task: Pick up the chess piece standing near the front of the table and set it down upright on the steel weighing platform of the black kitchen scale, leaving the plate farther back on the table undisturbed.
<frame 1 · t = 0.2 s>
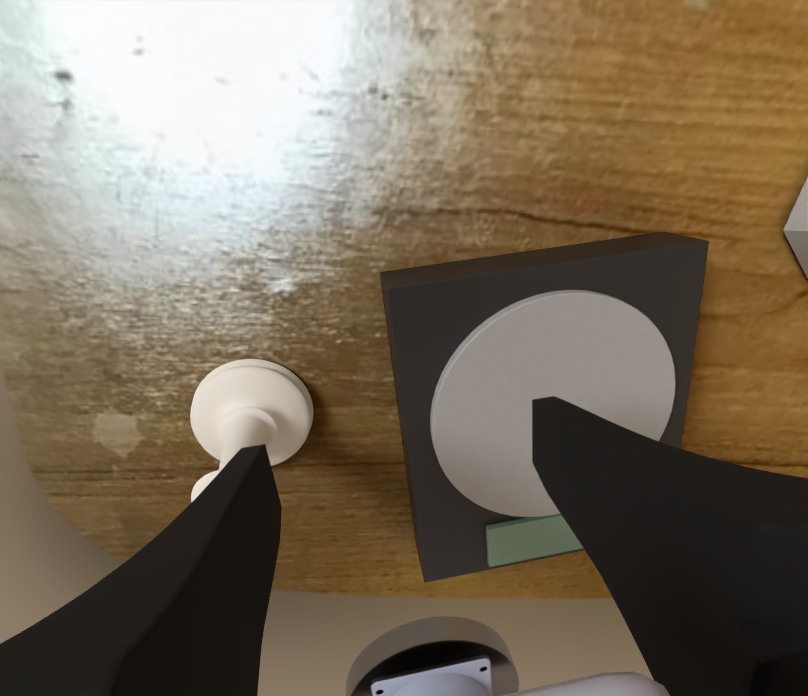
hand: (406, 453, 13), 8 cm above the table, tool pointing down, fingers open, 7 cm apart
scale: (528, 402, 22), on the table
chess piece: (255, 409, 20), on the table
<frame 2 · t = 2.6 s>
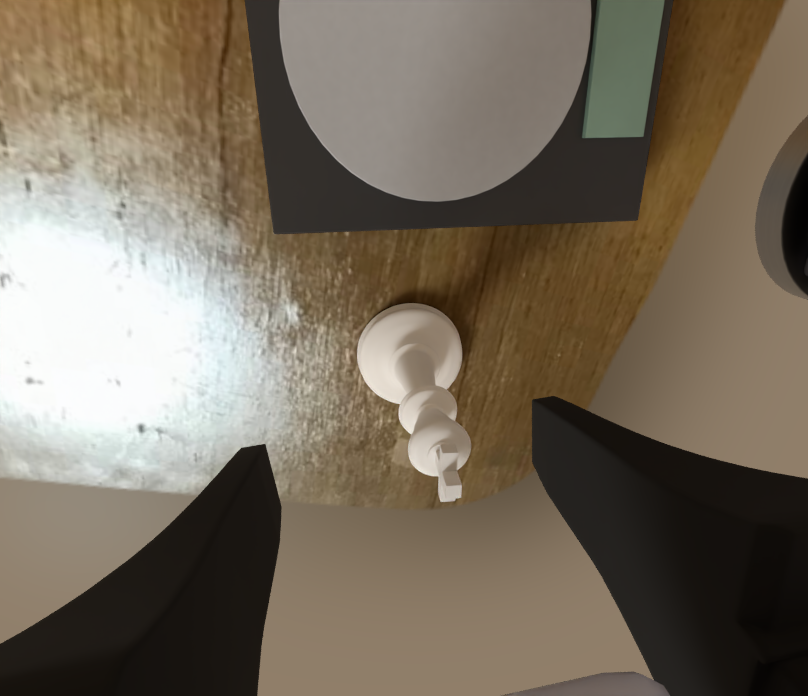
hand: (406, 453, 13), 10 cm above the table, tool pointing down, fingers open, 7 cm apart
scale: (451, 56, 18), on the table
chess piece: (409, 351, 22), on the table
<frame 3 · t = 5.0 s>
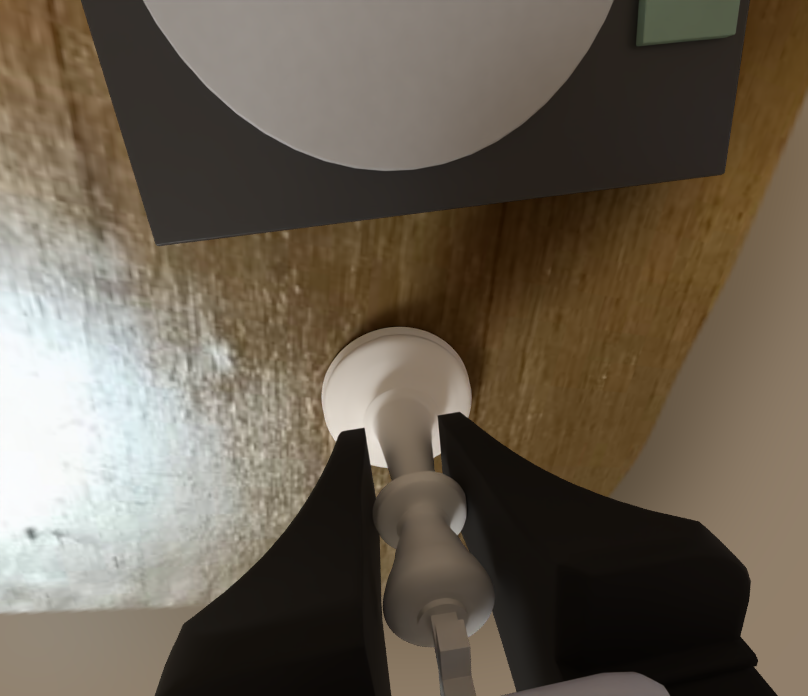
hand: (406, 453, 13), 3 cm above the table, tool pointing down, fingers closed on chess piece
chess piece: (396, 393, 16), on the table, touching gripper
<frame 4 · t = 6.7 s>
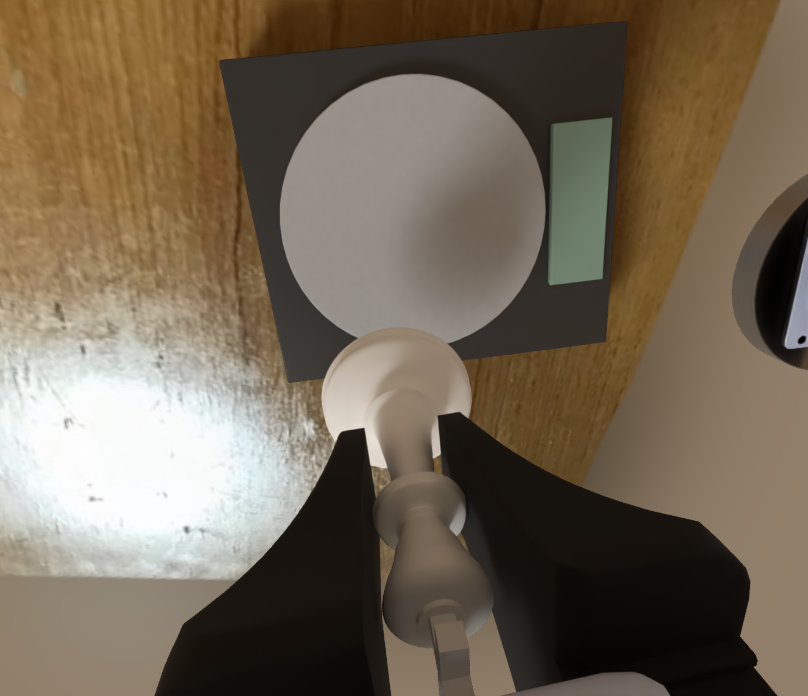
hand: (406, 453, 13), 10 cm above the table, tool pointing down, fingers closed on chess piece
scale: (430, 214, 20), on the table
chess piece: (396, 393, 16), point 7 cm above the table, touching gripper
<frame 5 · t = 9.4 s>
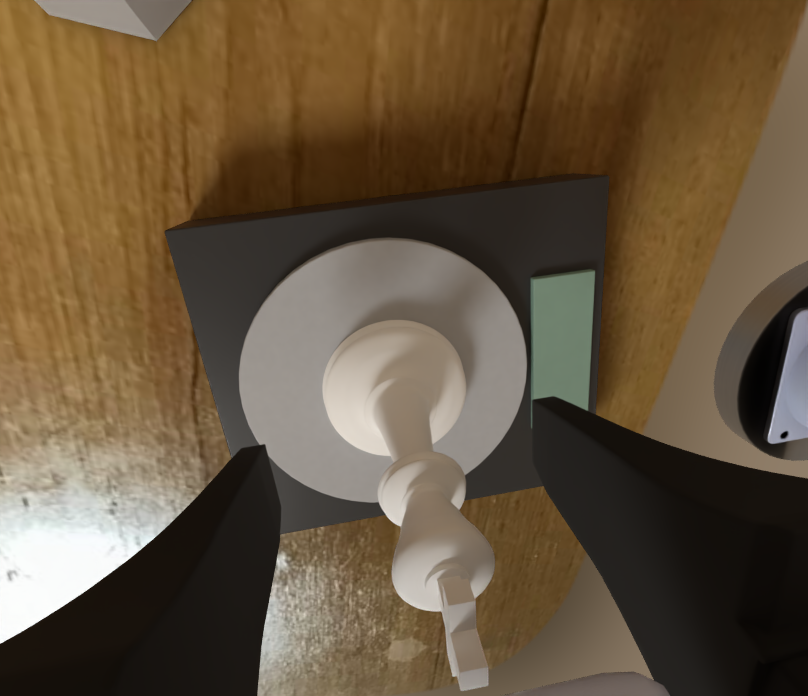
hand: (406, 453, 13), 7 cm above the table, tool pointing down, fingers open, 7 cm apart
scale: (405, 349, 19), on the table
chess piece: (393, 384, 16), point 3 cm above the table, touching scale
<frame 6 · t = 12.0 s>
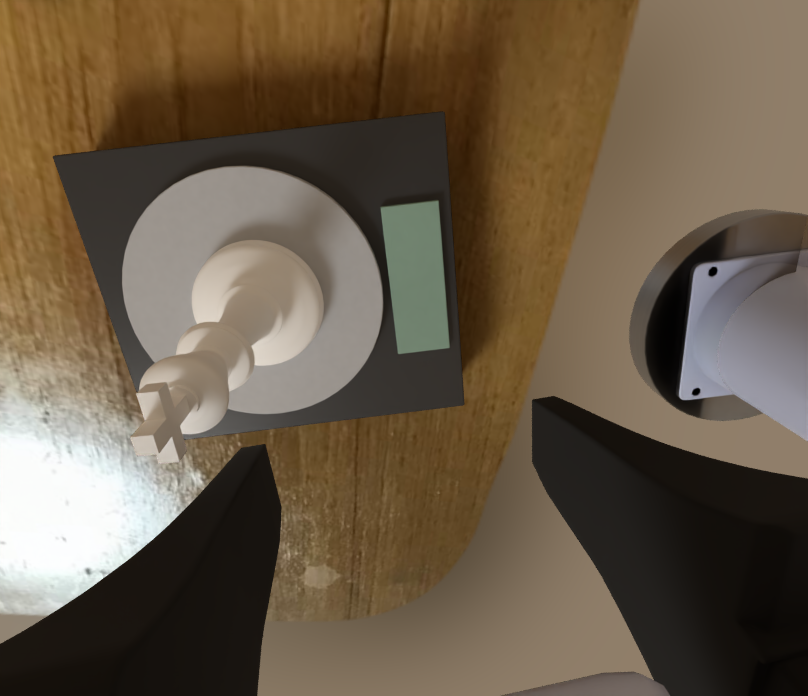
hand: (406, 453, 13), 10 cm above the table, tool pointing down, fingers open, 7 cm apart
scale: (293, 281, 21), on the table
chess piece: (261, 301, 19), point 3 cm above the table, touching scale
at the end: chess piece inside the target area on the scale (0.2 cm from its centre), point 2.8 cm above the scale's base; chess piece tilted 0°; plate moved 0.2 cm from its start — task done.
